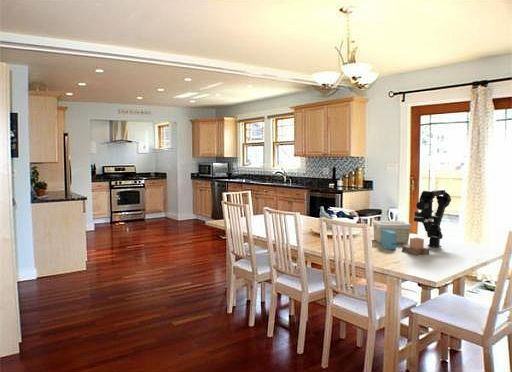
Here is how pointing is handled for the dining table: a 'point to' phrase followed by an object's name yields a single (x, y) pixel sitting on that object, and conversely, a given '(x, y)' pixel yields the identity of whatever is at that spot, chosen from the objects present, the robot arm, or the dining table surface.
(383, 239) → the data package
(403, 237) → the storage basket
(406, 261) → the dining table surface
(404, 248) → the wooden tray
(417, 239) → the terracotta cube
